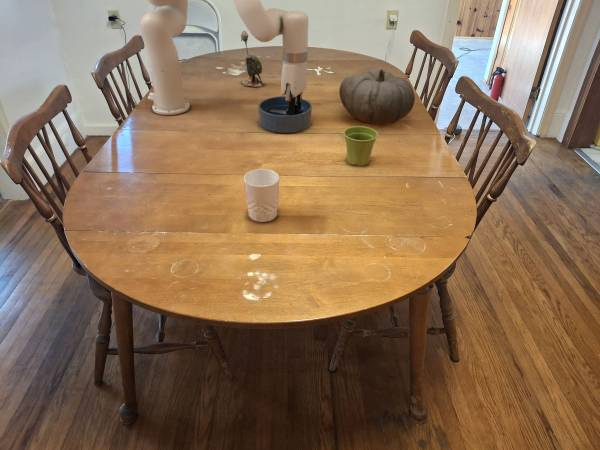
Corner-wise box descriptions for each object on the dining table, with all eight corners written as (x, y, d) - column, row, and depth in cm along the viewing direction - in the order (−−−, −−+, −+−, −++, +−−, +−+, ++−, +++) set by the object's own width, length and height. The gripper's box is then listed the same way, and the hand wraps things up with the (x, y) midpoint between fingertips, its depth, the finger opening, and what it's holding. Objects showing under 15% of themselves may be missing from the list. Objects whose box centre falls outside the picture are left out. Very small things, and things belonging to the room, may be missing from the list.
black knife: (302, 114, 150) (302, 109, 149) (299, 117, 148) (299, 111, 147) (272, 109, 154) (272, 103, 153) (269, 111, 152) (269, 106, 151)
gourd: (326, 119, 148) (337, 63, 140) (342, 104, 169) (353, 55, 161) (403, 138, 143) (419, 81, 135) (409, 120, 165) (423, 71, 157)
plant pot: (352, 172, 126) (355, 143, 121) (335, 157, 132) (337, 129, 127) (381, 165, 129) (384, 136, 124) (362, 151, 136) (365, 123, 131)
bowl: (249, 128, 148) (248, 110, 144) (273, 109, 161) (273, 93, 157) (298, 138, 142) (298, 120, 139) (319, 118, 155) (319, 101, 152)
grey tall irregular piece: (249, 91, 176) (247, 36, 164) (238, 82, 184) (235, 29, 172) (269, 88, 179) (267, 33, 167) (257, 79, 187) (255, 26, 175)
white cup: (246, 205, 112) (244, 169, 106) (279, 204, 112) (278, 168, 106) (246, 224, 105) (243, 186, 99) (280, 223, 106) (280, 185, 100)
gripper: (294, 48, 146) (294, 104, 157) (272, 61, 134) (273, 121, 145) (316, 51, 144) (314, 108, 155) (295, 65, 132) (295, 125, 143)
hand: (294, 114), depth 150 cm, fingers closed on black knife, 1 cm apart
